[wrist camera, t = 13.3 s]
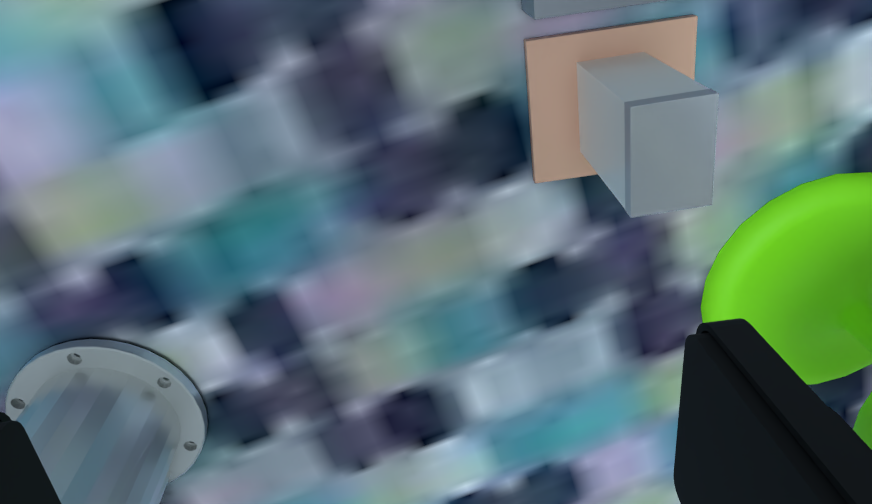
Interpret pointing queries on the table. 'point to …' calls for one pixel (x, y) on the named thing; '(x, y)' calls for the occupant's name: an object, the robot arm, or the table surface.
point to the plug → (648, 132)
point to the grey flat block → (573, 6)
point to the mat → (557, 83)
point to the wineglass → (805, 280)
